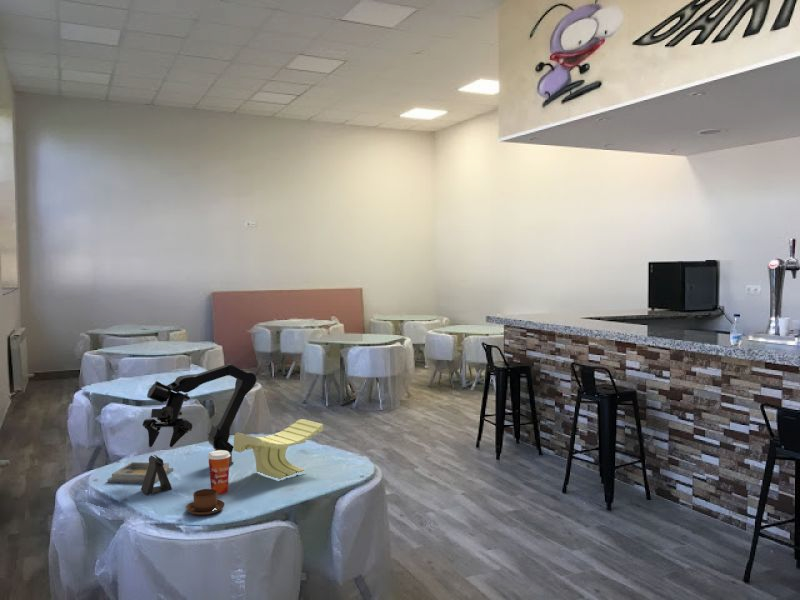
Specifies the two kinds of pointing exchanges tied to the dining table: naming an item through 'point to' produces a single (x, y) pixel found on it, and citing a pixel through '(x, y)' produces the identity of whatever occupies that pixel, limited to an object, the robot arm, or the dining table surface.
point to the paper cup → (219, 470)
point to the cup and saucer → (205, 502)
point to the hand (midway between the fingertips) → (160, 446)
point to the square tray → (135, 473)
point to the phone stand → (150, 476)
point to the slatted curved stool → (277, 447)
